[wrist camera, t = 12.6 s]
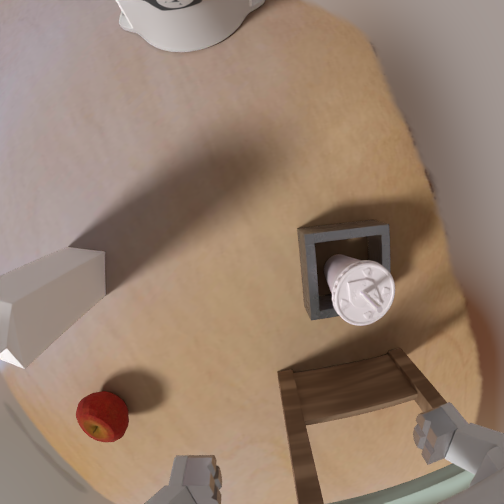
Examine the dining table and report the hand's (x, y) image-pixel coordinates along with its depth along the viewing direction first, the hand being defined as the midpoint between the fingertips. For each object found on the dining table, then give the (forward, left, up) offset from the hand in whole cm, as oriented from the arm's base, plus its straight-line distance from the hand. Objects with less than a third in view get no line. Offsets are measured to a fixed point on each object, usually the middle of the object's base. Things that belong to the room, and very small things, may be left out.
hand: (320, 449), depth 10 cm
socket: (+1, +9, -28) cm, 29 cm away
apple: (+19, -26, -28) cm, 43 cm away
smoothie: (+1, +8, -28) cm, 29 cm away
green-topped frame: (+13, +9, -28) cm, 32 cm away
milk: (-2, -23, -28) cm, 37 cm away
